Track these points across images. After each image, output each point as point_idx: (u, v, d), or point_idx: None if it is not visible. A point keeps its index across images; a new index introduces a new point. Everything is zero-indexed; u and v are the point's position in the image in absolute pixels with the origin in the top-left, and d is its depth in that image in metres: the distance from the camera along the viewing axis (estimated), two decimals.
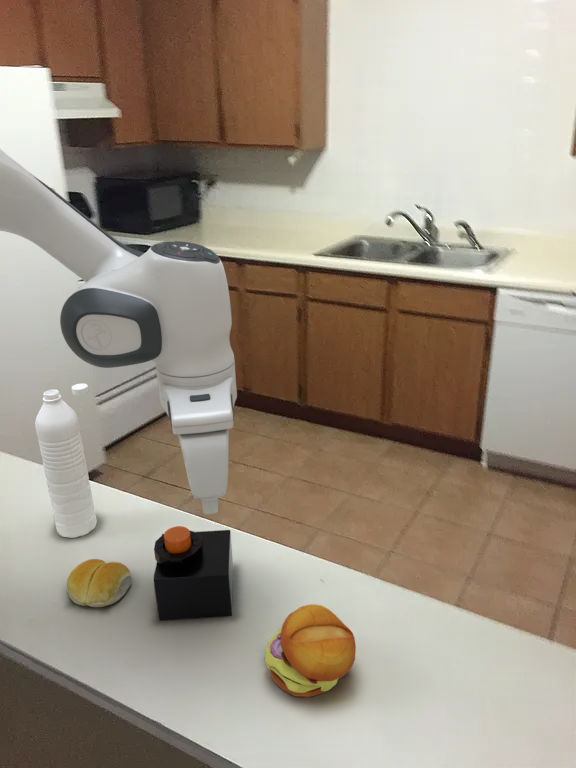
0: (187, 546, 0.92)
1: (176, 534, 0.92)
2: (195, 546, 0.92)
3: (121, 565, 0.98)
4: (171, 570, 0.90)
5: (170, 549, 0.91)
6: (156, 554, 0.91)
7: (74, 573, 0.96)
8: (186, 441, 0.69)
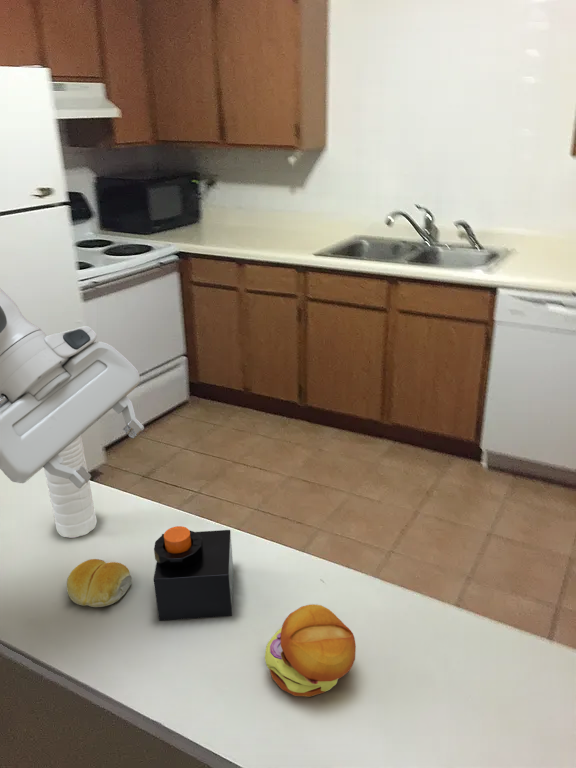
0: (187, 546, 0.92)
1: (176, 534, 0.92)
2: (195, 546, 0.92)
3: (121, 565, 0.98)
4: (171, 570, 0.90)
5: (170, 549, 0.91)
6: (156, 554, 0.91)
7: (74, 573, 0.96)
8: None
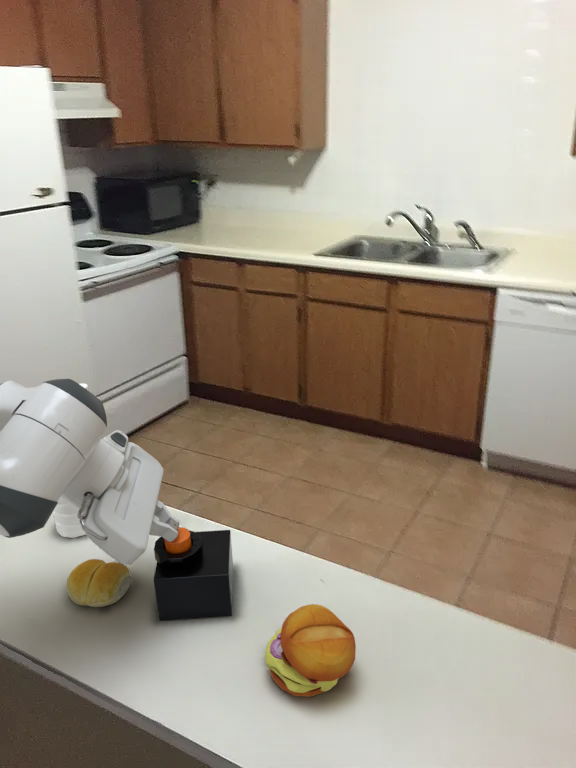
0: (187, 547, 0.92)
1: None
2: (195, 546, 0.92)
3: (121, 565, 0.98)
4: (171, 570, 0.90)
5: (170, 550, 0.91)
6: (156, 554, 0.91)
7: (74, 573, 0.96)
8: None
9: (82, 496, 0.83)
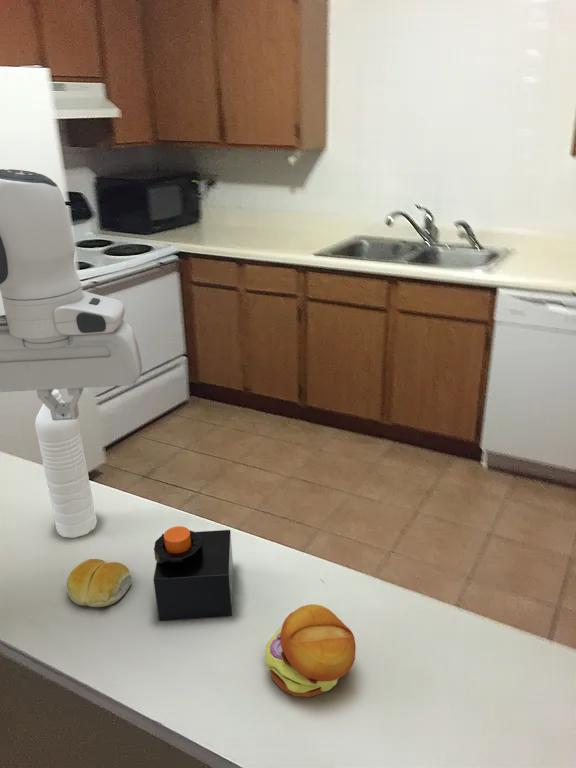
0: (187, 546, 0.92)
1: (176, 534, 0.92)
2: (195, 546, 0.92)
3: (121, 565, 0.98)
4: (171, 570, 0.90)
5: (170, 550, 0.91)
6: (156, 554, 0.91)
7: (74, 573, 0.96)
8: (120, 333, 0.78)
9: None
